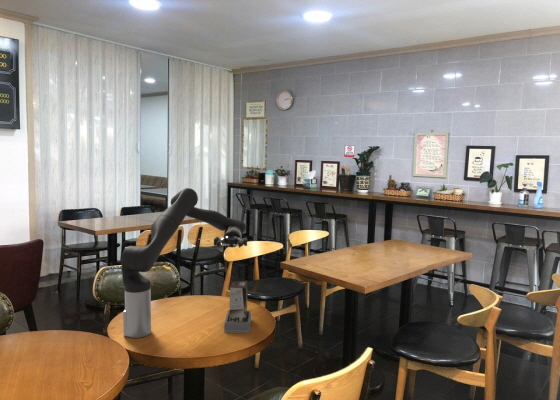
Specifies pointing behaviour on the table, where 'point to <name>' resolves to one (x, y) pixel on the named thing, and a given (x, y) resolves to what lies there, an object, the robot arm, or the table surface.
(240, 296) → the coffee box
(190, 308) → the table surface
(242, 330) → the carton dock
